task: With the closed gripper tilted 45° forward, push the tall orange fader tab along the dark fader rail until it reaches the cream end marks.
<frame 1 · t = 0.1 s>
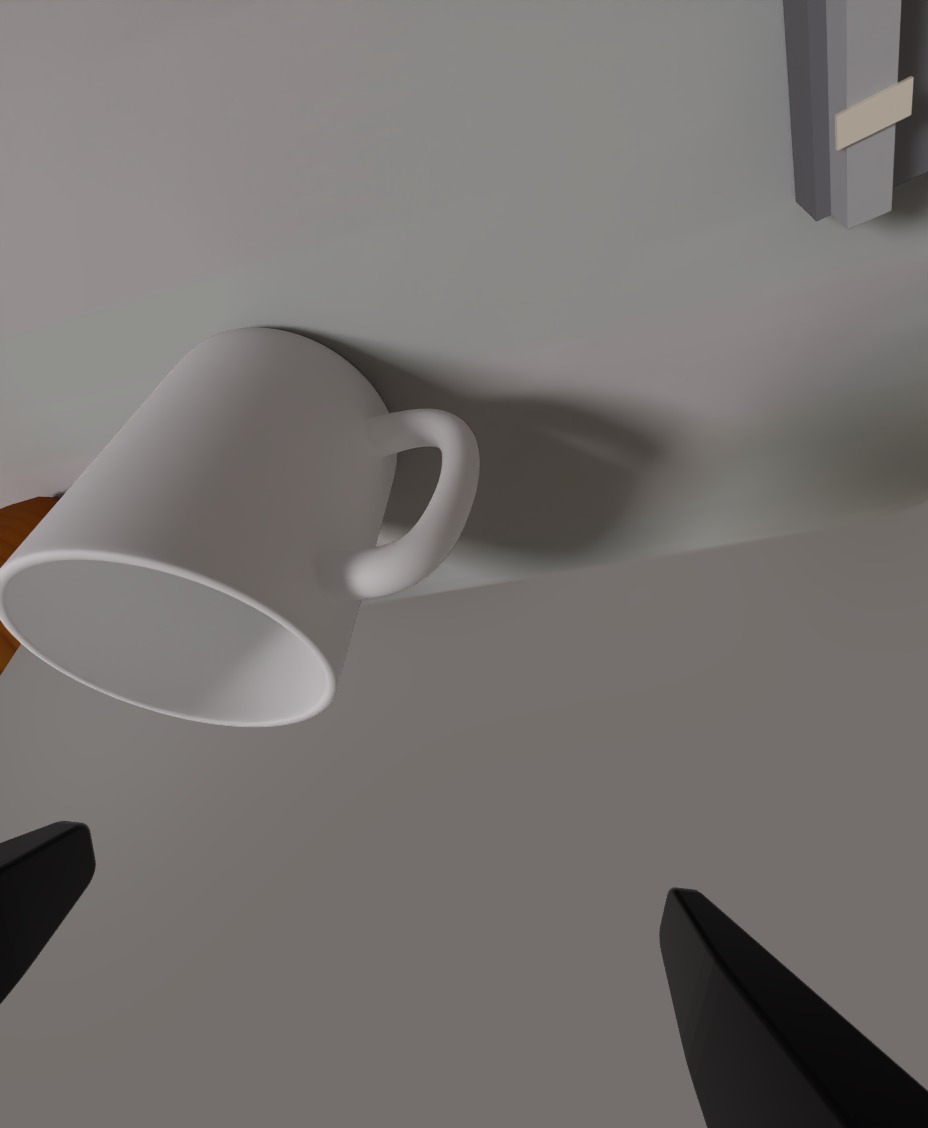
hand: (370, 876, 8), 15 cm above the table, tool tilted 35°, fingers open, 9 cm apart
cup: (336, 412, 20), on the table
carrot: (58, 496, 25), on the table
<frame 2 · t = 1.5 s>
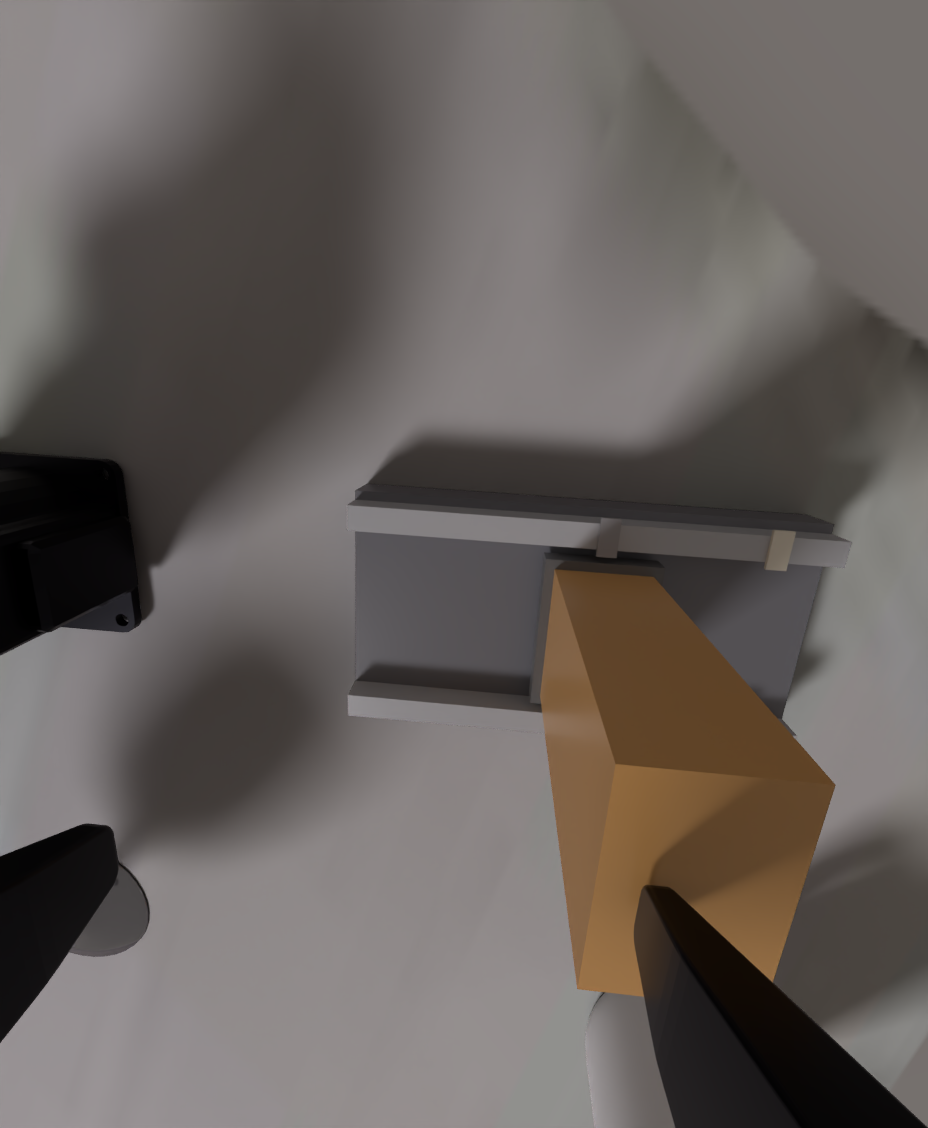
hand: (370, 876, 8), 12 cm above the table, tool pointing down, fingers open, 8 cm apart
wine glass: (79, 896, 26), on the table
fader rail: (568, 607, 19), on the table
fader tab: (623, 712, 13), point 7 cm above the table, slide at 0.0 cm
cup: (681, 996, 25), on the table
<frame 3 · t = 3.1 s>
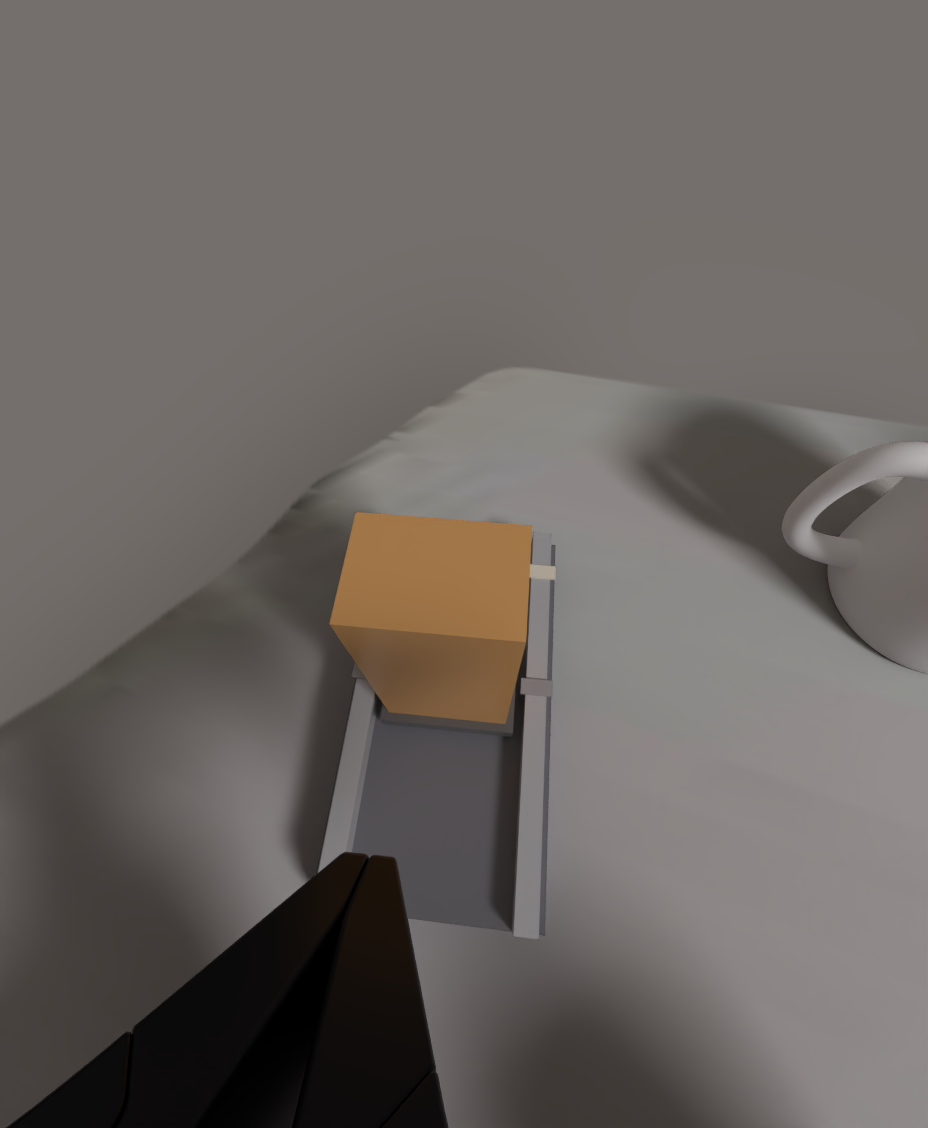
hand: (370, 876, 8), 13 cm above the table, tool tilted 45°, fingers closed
fader rail: (452, 706, 23), on the table
fader tab: (445, 643, 17), point 7 cm above the table, slide at 0.0 cm
cup: (868, 588, 25), on the table
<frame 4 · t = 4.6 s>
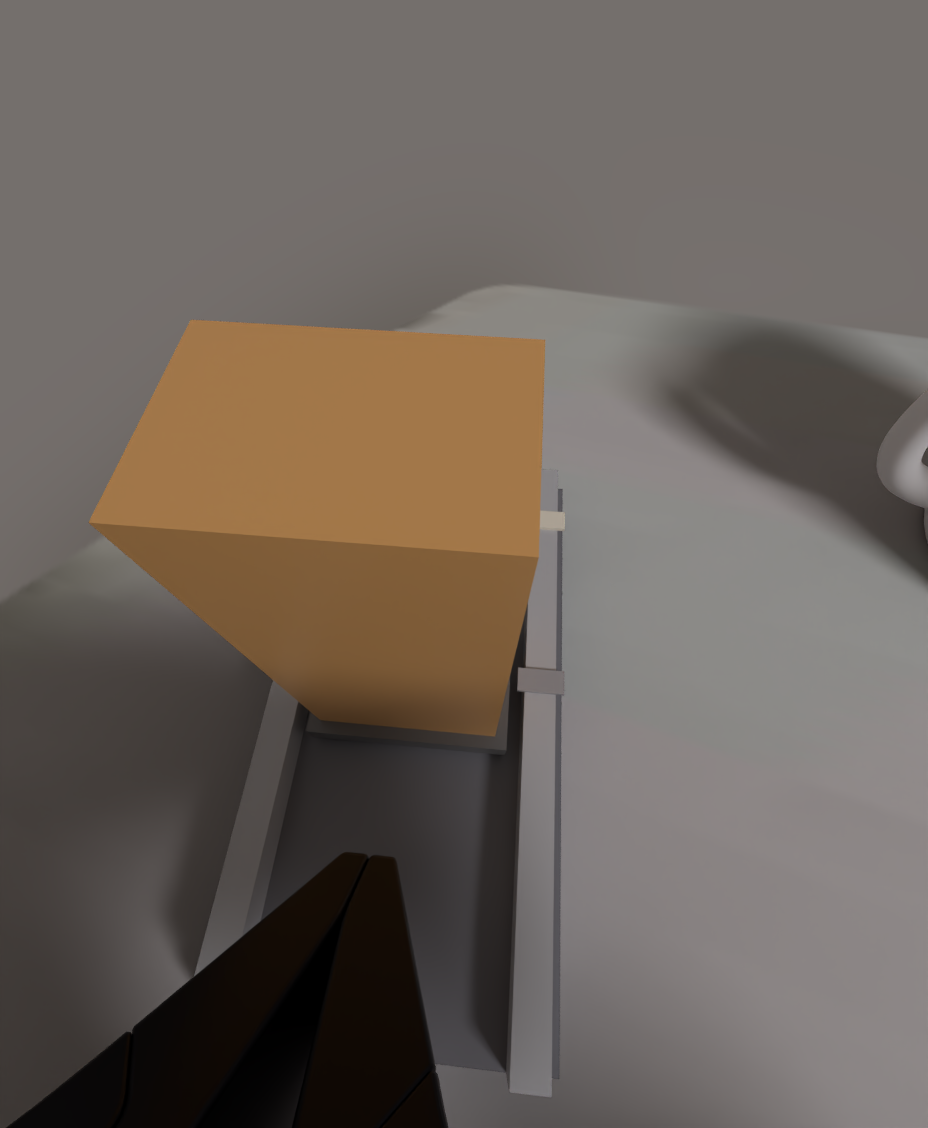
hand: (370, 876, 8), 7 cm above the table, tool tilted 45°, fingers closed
fader rail: (420, 711, 16), on the table
fader tab: (395, 605, 10), point 7 cm above the table, slide at 0.0 cm
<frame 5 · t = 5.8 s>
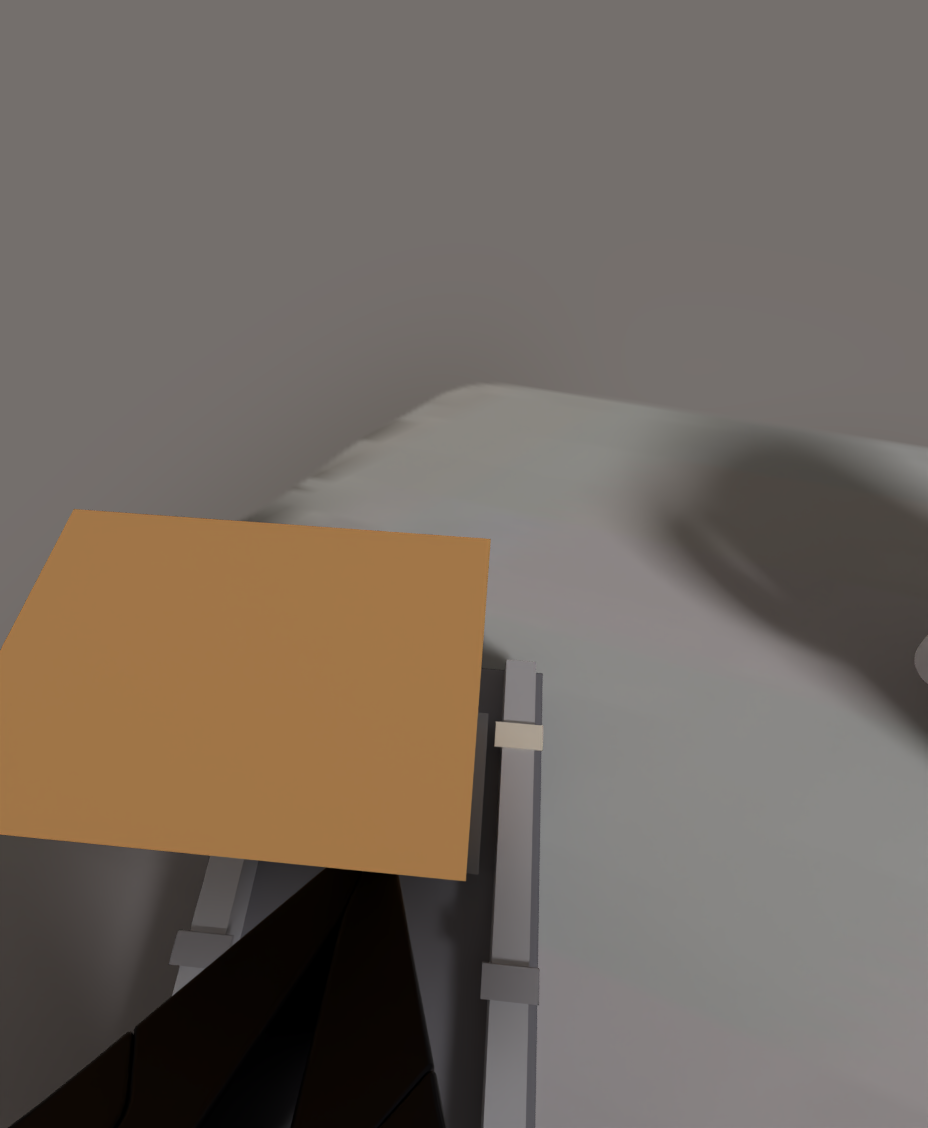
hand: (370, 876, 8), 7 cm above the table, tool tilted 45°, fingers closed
fader rail: (369, 970, 13), on the table
fader tab: (347, 751, 9), point 7 cm above the table, slide at 3.7 cm, touching gripper
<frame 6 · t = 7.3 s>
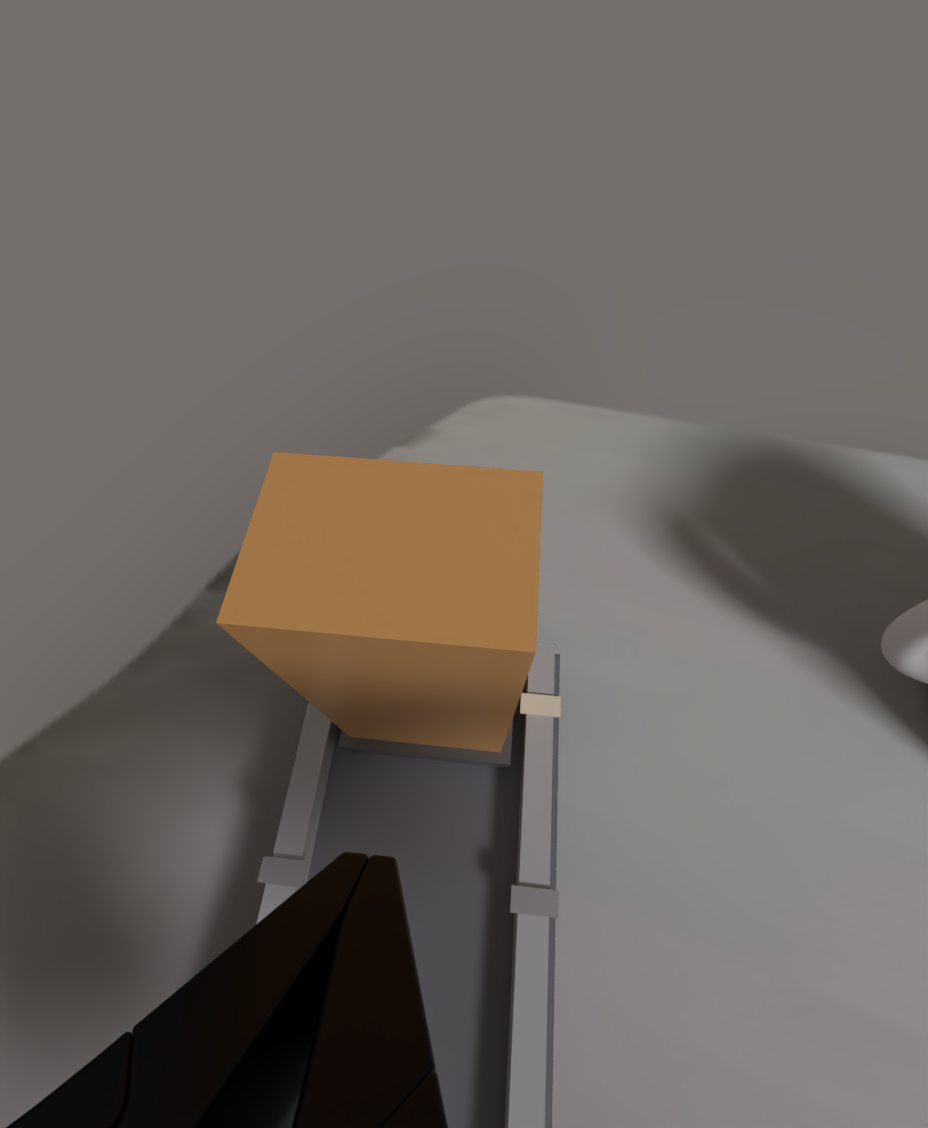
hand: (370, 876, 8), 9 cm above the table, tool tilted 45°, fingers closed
fader rail: (413, 898, 16), on the table
fader tab: (419, 649, 12), point 7 cm above the table, slide at 5.0 cm
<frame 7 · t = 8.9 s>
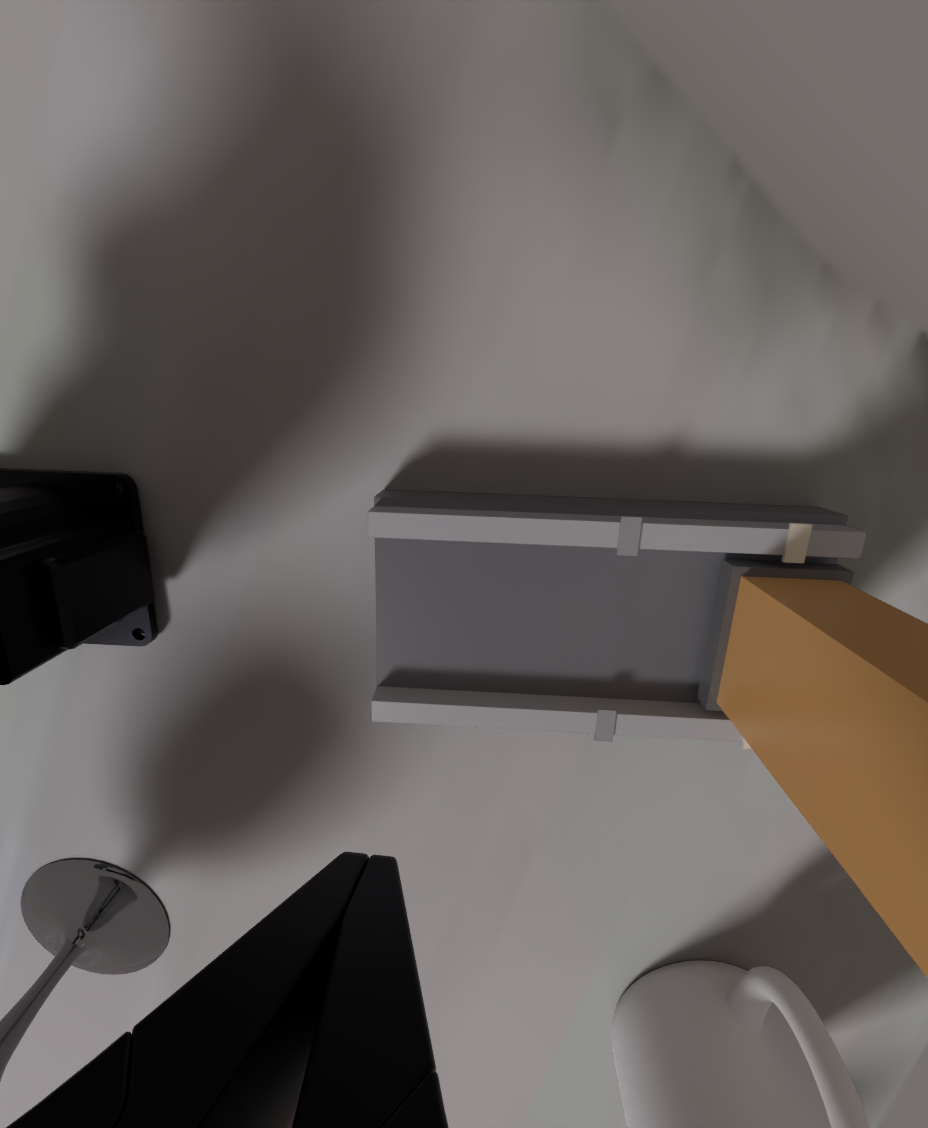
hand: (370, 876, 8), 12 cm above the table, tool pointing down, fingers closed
wine glass: (98, 914, 25), on the table
fader rail: (586, 606, 19), on the table
fader tab: (866, 719, 13), point 7 cm above the table, slide at 5.0 cm
cup: (705, 987, 25), on the table
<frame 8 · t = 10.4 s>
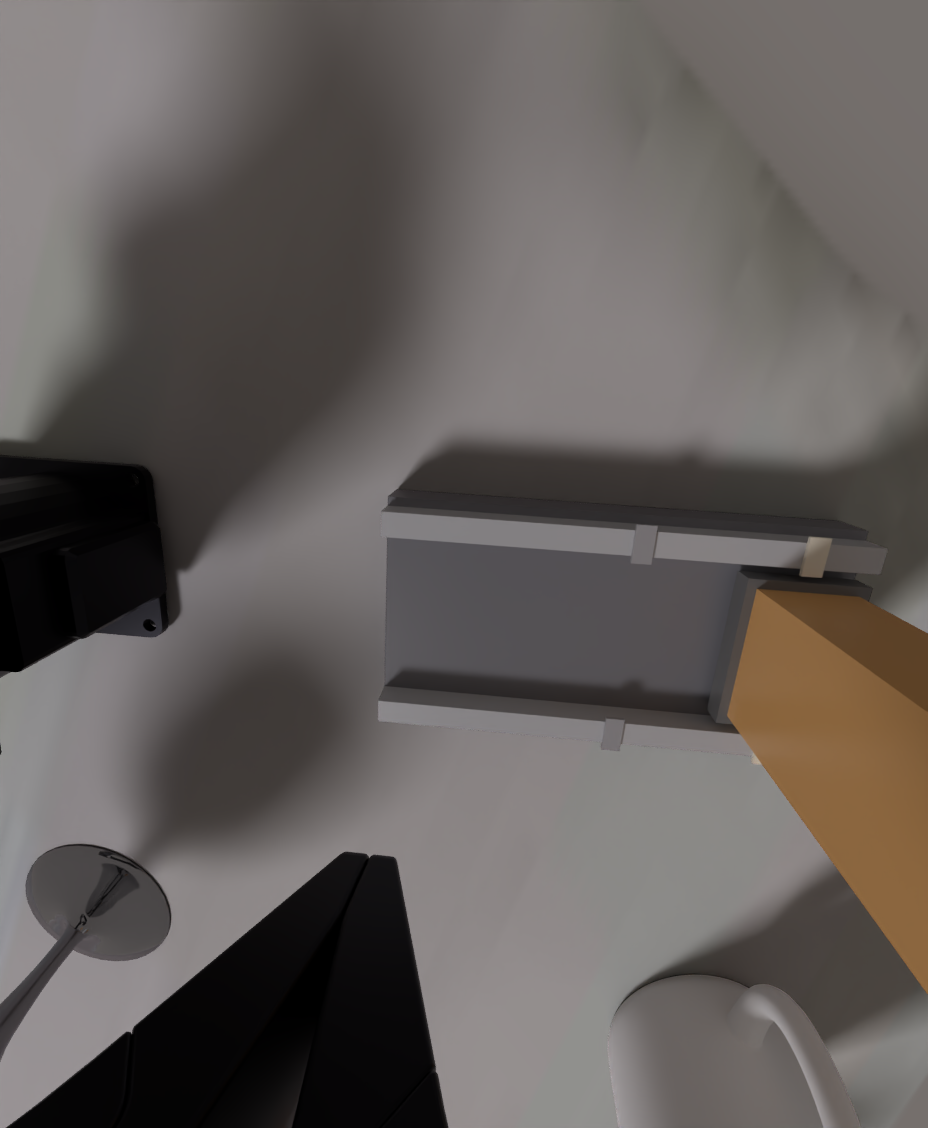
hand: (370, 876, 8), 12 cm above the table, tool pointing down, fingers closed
wine glass: (101, 901, 26), on the table
fader rail: (597, 613, 19), on the table
fader tab: (882, 740, 13), point 7 cm above the table, slide at 5.0 cm
cup: (704, 1001, 25), on the table
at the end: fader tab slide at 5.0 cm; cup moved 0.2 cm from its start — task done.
